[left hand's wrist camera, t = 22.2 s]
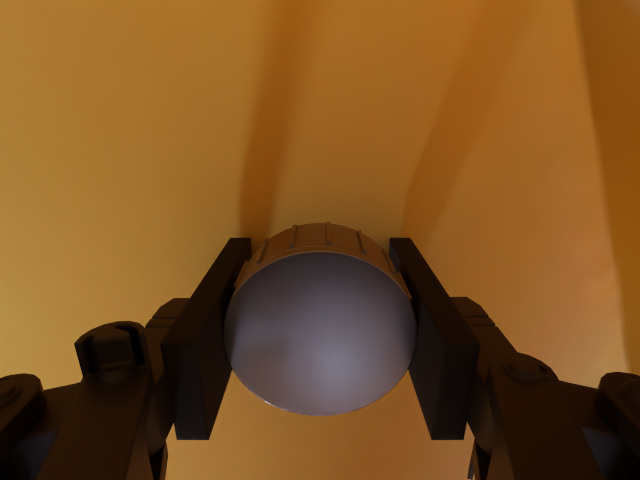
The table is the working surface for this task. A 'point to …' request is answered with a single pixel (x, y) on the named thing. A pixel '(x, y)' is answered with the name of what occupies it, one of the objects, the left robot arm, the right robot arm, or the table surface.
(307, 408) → the lid
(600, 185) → the table surface
